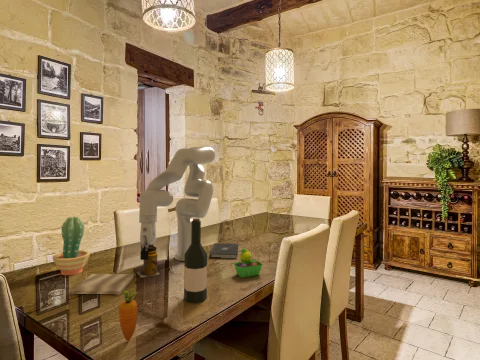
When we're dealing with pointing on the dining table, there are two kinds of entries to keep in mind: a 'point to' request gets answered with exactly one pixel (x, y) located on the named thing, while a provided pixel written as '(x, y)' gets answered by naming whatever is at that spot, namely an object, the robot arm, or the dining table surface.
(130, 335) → the carrot
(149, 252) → the condiment
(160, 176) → the robot arm
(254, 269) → the fruit basket
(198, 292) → the wine bottle
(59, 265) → the potted cactus
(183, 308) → the dining table surface
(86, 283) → the board
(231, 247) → the book
